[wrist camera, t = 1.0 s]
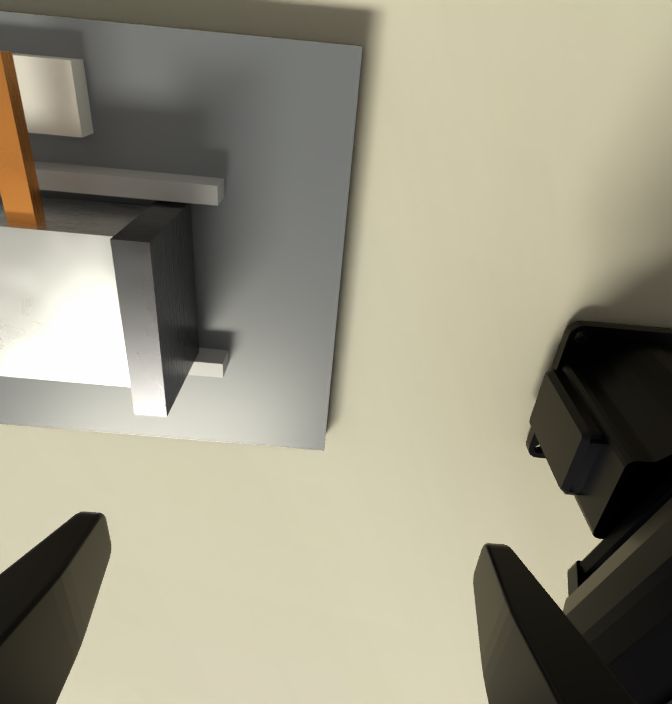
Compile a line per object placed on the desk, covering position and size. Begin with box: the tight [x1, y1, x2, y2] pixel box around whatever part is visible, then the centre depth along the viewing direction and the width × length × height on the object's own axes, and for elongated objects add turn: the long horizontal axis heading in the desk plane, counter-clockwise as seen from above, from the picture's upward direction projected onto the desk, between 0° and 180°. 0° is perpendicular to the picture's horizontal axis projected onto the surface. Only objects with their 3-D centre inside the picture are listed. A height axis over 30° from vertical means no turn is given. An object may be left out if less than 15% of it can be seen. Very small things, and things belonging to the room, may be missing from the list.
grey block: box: [0, 51, 199, 417], centre depth 16 cm, size 7×10×4 cm
